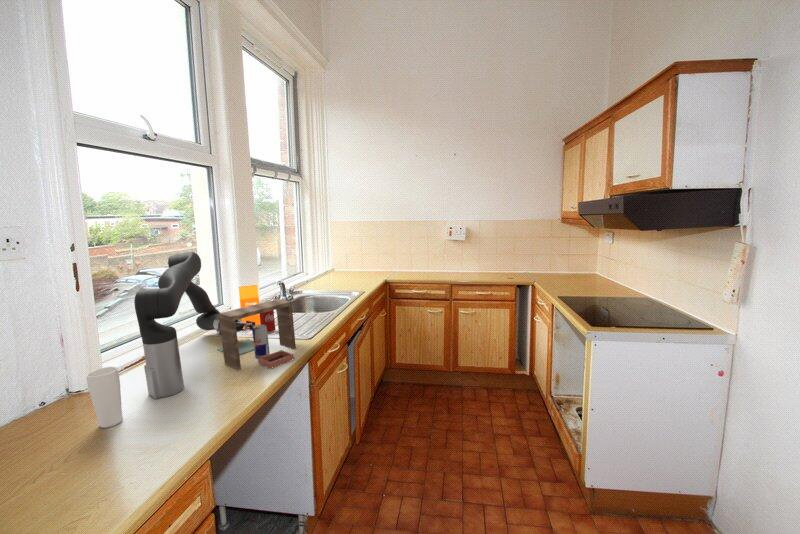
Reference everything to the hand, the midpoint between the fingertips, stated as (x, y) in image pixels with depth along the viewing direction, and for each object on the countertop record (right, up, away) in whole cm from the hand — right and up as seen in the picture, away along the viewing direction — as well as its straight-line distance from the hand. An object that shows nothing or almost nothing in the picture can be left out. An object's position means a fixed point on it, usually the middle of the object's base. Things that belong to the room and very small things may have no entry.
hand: (245, 331), depth 156 cm
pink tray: (+16, -9, -12) cm, 22 cm away
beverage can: (+1, -4, +23) cm, 24 cm away
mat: (-3, -7, +4) cm, 9 cm away
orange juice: (-11, -3, +36) cm, 38 cm away
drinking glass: (-17, -17, -50) cm, 56 cm away
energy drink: (+9, -9, -6) cm, 14 cm away
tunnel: (+9, -8, -6) cm, 13 cm away
